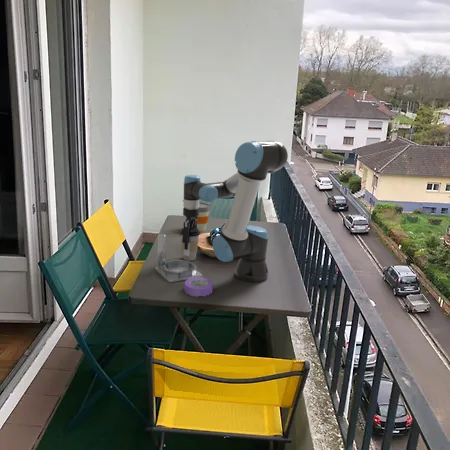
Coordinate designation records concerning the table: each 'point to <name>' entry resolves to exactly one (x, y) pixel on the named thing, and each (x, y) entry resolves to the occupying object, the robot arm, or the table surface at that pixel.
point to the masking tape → (198, 286)
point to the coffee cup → (191, 244)
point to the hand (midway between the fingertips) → (189, 252)
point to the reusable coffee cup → (203, 216)
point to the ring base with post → (174, 265)
